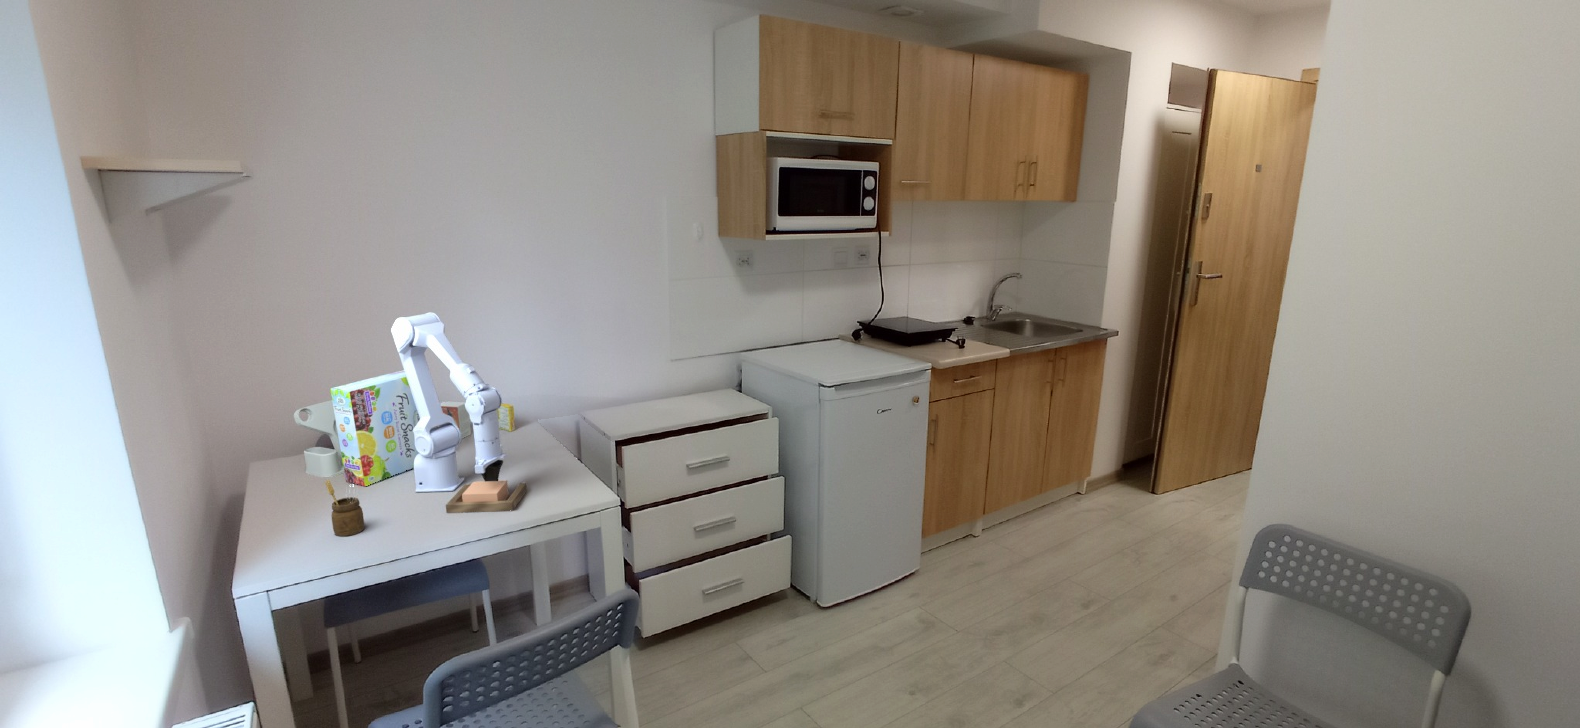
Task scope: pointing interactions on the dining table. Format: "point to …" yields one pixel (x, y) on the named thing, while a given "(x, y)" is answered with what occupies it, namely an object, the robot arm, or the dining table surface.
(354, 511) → the utensil holder
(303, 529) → the dining table surface
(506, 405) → the candy box
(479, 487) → the carton
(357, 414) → the snack box
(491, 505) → the brown u-shaped wooden frame
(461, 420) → the small box
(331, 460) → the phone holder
